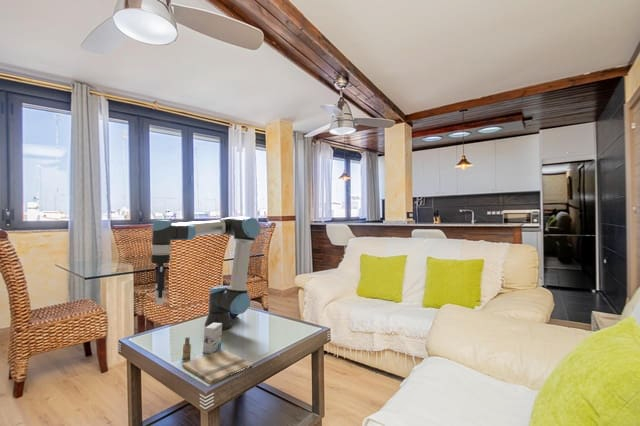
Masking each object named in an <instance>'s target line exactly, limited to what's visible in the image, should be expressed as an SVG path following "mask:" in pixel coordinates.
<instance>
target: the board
mask: <svg viewBox="0 0 640 426" xmlns="http://www.w3.org/2000/svg"><path fill="white" fill-rule="evenodd" d="M252 364H253V363H251V362H250V361H247V360H245V359H243V358H241V357H240V356H237V355H235V354H233V353H231V352H229V351H227V350H225V349H222V350H220V351H215V352H213V353H212V354H210V353H209V354H208V355H207V354H206V355H205V356H202V357H198V358H195V359H192V360H190V361H189V360H188V361H187V362H183V363H182V367H184V368H185V369H187V370H188V371H190V372H192V373H193V374H194V375H196V376H198V377H199V378H200V379H202V380H204V381H205V380H206V381H205V382H207V381H208V383H209V382H210V383H211V384H213V383H212V382H214V383H216V382H219V381H221V380H223V379H222V378H224V377H226V376H229V375H231V374H233V373H235V372H237V371H239V370H241V369H243V368H246V367H248V366H250V365H252ZM252 366H253V365H252ZM231 376H232V375H231ZM229 377H230V376H229ZM226 378H227V377H226ZM220 379H221V380H220ZM224 379H225V378H224ZM218 380H219V381H218ZM215 381H216V382H215ZM210 383H209V384H210Z"/></svg>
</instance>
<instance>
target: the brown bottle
mask: <svg viewBox="0 0 640 426" xmlns="http://www.w3.org/2000/svg"><path fill="white" fill-rule="evenodd" d="M184 339H185V340H184V343H183V345H182V360H184V361H186V360H190V359H191V355H192V354H191V350H192V348H191V347H192V344H191V343H190V340H191V338H190V337H188V336H186V337H185V338H184Z"/></svg>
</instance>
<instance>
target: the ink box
mask: <svg viewBox="0 0 640 426" xmlns="http://www.w3.org/2000/svg"><path fill="white" fill-rule="evenodd" d="M222 332H223V330H222V323H212V324H210V325H209V326H207V327H205V326H204V333H203V348H202V353H204V354H209V355H210V354H213V353H216V352H217V350H219V349H220V348H221V346H222V335H223V334H222Z"/></svg>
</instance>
